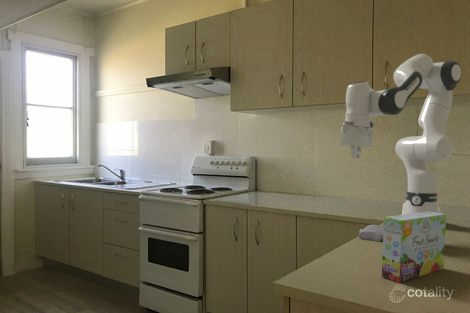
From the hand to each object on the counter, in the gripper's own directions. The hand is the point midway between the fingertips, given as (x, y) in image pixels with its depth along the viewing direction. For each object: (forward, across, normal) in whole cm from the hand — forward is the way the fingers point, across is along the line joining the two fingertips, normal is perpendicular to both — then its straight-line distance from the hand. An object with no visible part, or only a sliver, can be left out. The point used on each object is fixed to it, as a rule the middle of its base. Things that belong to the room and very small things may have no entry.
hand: (355, 158), depth 148 cm
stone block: (+29, -4, -11) cm, 32 cm away
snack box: (+29, -37, -35) cm, 59 cm away
